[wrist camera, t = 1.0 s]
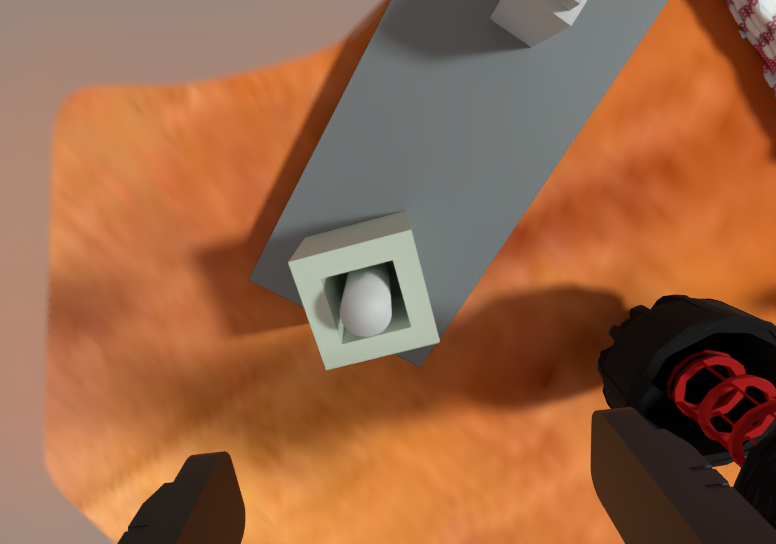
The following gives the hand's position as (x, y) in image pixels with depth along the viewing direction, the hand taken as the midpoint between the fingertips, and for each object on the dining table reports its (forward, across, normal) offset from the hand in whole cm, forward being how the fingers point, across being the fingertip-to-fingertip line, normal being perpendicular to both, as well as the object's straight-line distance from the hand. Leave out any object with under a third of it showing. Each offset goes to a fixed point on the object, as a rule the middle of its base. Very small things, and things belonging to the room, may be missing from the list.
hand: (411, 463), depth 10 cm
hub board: (+18, -3, -6) cm, 20 cm away
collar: (+17, +2, +1) cm, 17 cm away
